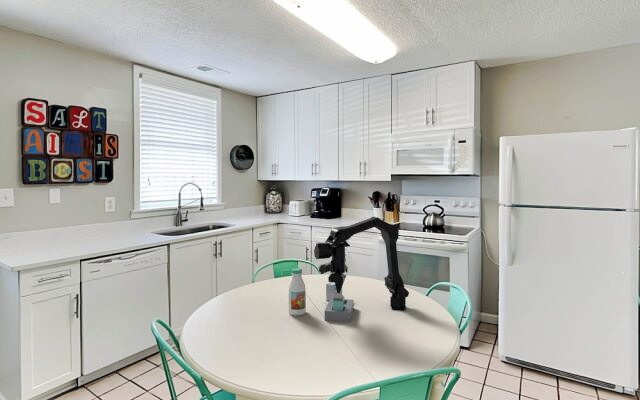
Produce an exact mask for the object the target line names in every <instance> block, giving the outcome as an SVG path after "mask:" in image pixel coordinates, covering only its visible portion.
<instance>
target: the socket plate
mask: <svg viewBox="0 0 640 400" xmlns="http://www.w3.org/2000/svg"><path fill="white" fill-rule="evenodd" d="M354 301H355V300H354V299H351V298H350V299H349V298H347V299H345V298H344V311H334V310H333V298H330V300H329V301H327V302H328V303H327V304H326V306H325V308H324V321H330V322H331V321H333V322H344V323H345V322H347V323H351V322H352V321H351V320H352V316H353V313H354V309H355V307H354V305H355V304H354V303H355V302H354Z"/></svg>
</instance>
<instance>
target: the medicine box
mask: <svg viewBox="0 0 640 400" xmlns="http://www.w3.org/2000/svg"><path fill="white" fill-rule="evenodd" d="M325 289H326V290H325V293H326V294H325V296H326V299H325V300H326V301H327V302H329V300H330V298H333V297H334V295H343V287H342V288H341V291H340V293H337V290H336V286H335V282H327V283H326V284H325Z"/></svg>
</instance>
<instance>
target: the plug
mask: <svg viewBox="0 0 640 400" xmlns="http://www.w3.org/2000/svg"><path fill="white" fill-rule="evenodd" d="M344 299H345V296H344V295H343V294H342V295H334V297H333V310H334V311H344Z"/></svg>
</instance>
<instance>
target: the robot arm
mask: <svg viewBox="0 0 640 400" xmlns="http://www.w3.org/2000/svg"><path fill="white" fill-rule="evenodd" d="M372 228H376V229H377V230H379V231H380V235H381V237H382V240H383V242H384V244H385V253H386V263H387V272H388V274H387V276H384V277H383V279H384V286H385V287H386V289H387V290H388V291H389V293H390V294H391V296H390V301H389V302H390V303H389V304H390V307H391V310H392V311H393V310H394V311H407V306H406V305H407V304H406V301H407V300H406V299H407V298H408V297H409V295H410V291H409V290H408V289H406V287H405V283H404V280H403V278H402V276H401V274H400V269H399V259H398V250H397V249H398V248H397V243H398V240H399V236H400V235H399V234H400V232H399V231H400V230H399V227H398V226H397V225H396V224H392V223H388V222H386V221H385V220H383V219H381V218H379V217H378V216H372V217H369V218H367V219H363V220H361V221H359V222H356V223H354V224H350V225H346V226H344V225H343V226H335V227H333V228H331V230H330V234H329V236H327V238H326V240H325V242H316V243H315V247H314V249H313V255H314V257H315V260H325V259H326V260H327V259H330V258H331V260H330V261H329V262H326V263H322V264H319V266H318V272H319V273H320V275H324V274H325V273H328V272H330V274H329V275H328V278H327V280H328V281H327V283H330V282H335V286H336V290H337V293H340V291H341V288H342V289H343V285H344V282H345V281H346V277H347V274H345V273H348V272H349V271H348V270H349V267H348V265H346V261H347V259H346V248H349V247H350V246H351V245H350V243H348V242H347V241H348V240H350V239H351V238H352V237H353V236H354V235H357V234H360V233H362V232H365V231H368V230H371V229H372Z"/></svg>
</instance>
